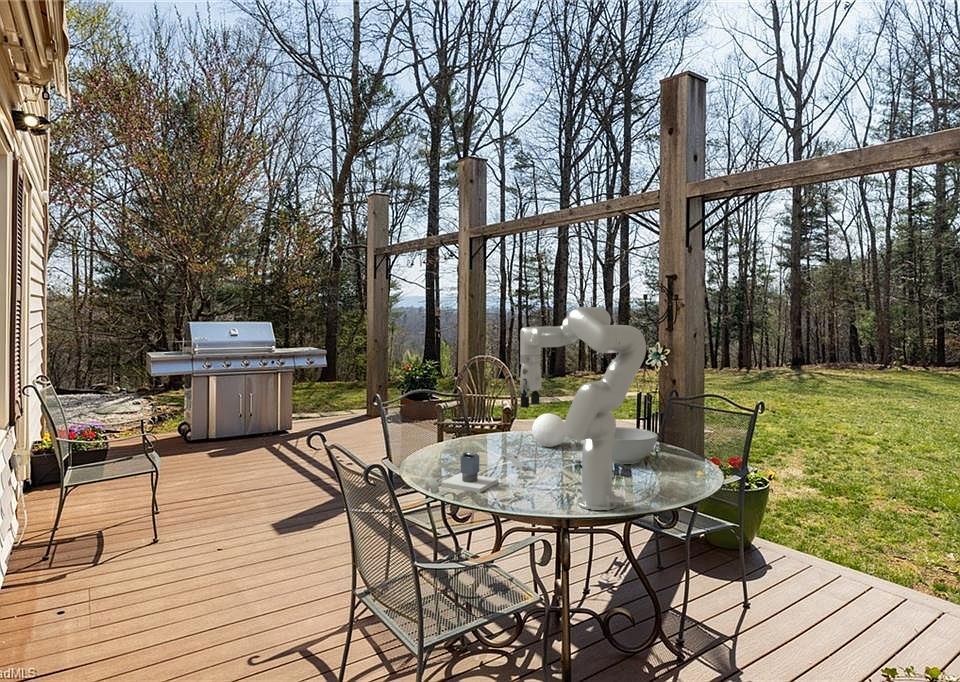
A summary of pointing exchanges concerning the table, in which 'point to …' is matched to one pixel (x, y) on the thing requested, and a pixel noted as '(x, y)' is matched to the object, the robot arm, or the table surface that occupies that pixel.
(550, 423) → the decorative orb
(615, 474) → the table surface
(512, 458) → the adjustable wrench
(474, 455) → the coupler
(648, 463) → the table surface
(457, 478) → the shaft mount
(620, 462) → the decorative bowl
